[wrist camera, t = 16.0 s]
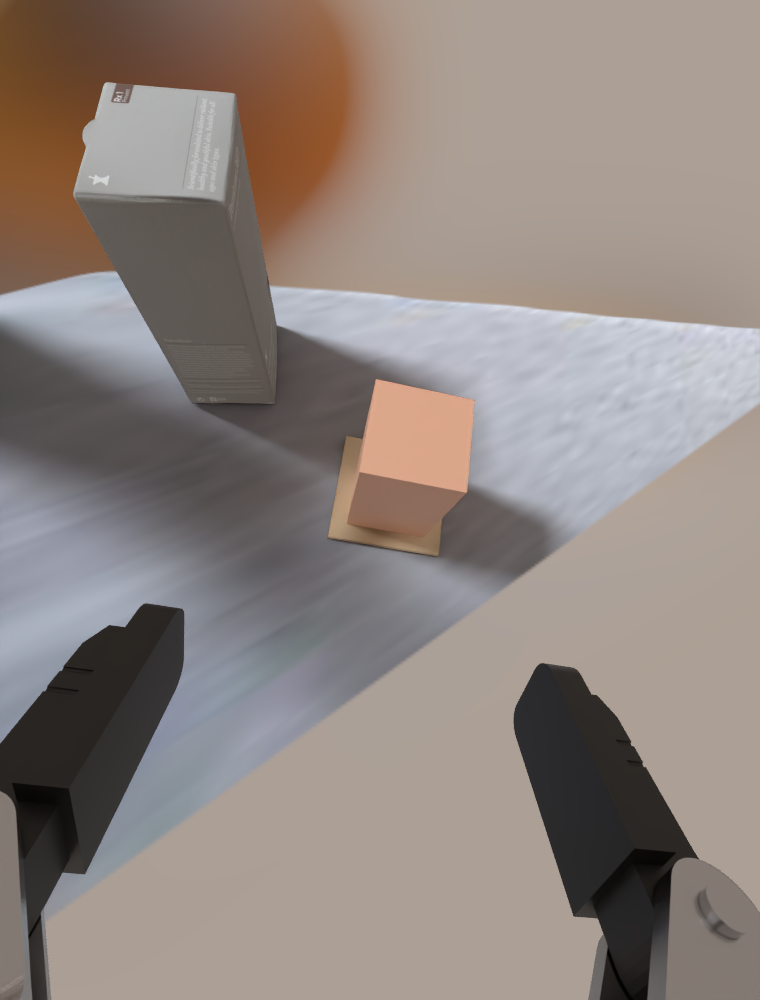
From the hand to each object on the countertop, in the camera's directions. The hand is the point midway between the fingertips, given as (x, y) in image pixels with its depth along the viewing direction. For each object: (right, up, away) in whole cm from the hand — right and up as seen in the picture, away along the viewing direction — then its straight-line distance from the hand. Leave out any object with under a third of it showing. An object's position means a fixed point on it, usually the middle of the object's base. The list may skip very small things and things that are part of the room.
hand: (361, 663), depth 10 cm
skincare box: (-11, +15, +24) cm, 31 cm away
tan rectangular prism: (+1, +4, +22) cm, 22 cm away
